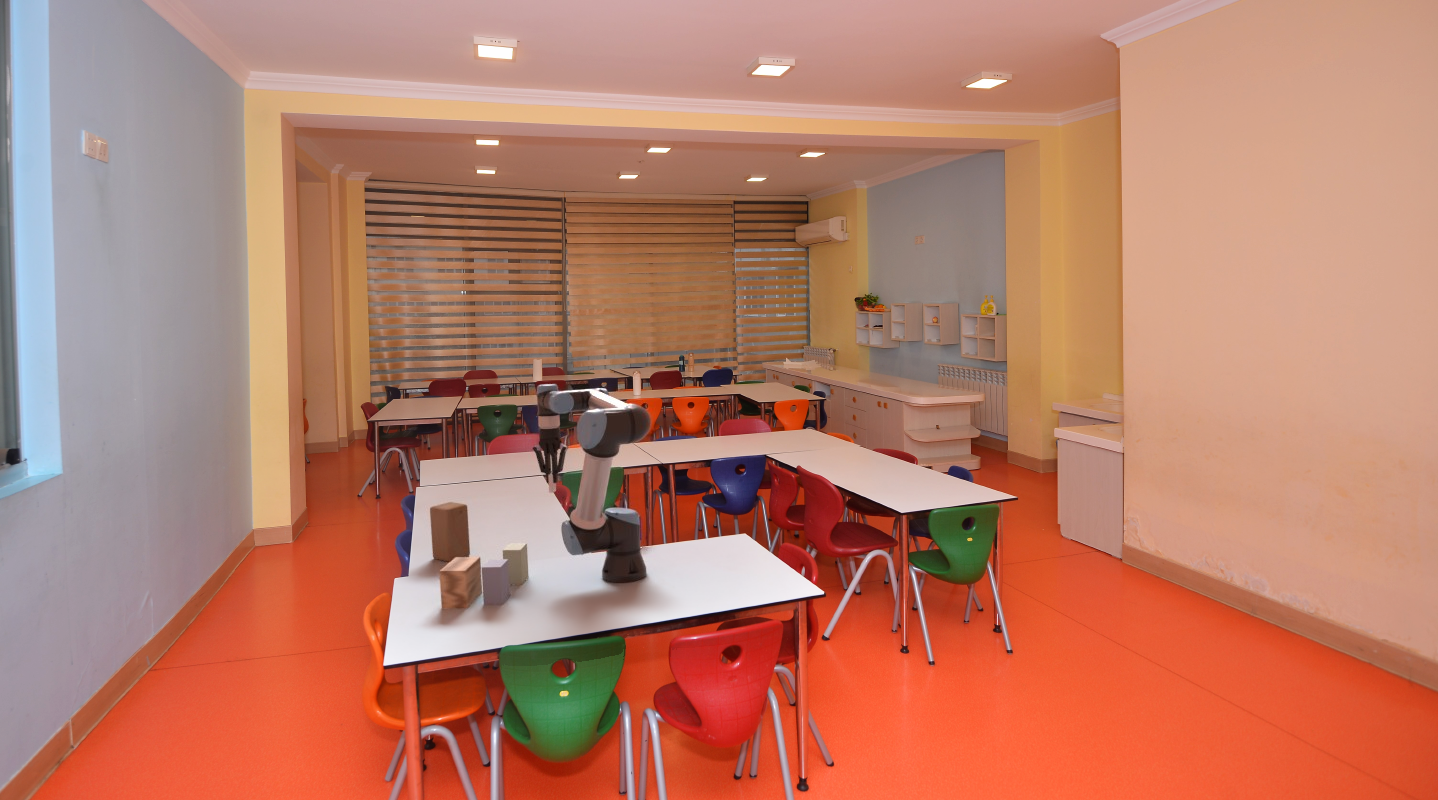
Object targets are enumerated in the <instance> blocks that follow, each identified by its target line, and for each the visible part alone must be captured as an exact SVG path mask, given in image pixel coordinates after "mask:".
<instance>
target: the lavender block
mask: <svg viewBox="0 0 1438 800" xmlns="http://www.w3.org/2000/svg"><path fill="white" fill-rule="evenodd" d="M481 580H482V598H483V600H482V601H483V605H485V606H487V605H489V606H491V605H492V606H493V605H496V606H497V605H504V604H505V603H506V601H507V600H508V599H509V598H510V596H511V589H510V588H511V587H510V586H511V585H510V583H509V564H508V559H503V558H502V559H501V558H498V559H488V560H487V562H485V563H484V564H483V565H482V567H481Z"/></svg>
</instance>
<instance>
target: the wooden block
mask: <svg viewBox="0 0 1438 800" xmlns="http://www.w3.org/2000/svg"><path fill="white" fill-rule="evenodd" d="M467 505H468V504H465V503H459V502H454V501H453V502H452V501H450V502H446V503H441V504H437V505H433V506H431V507H430V509H429V515H430V531H431V532H430V533H431V545H432V546H431V547H432V548H431V550H432V557H433V559H435V560H439V561H444V562H448V563H450V562H451V561H452V560H453V559H454V558H456V557H470V555H471V549H470V548H471V547H470V533H469V531H470V530H469V513H468V506H467Z"/></svg>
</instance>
